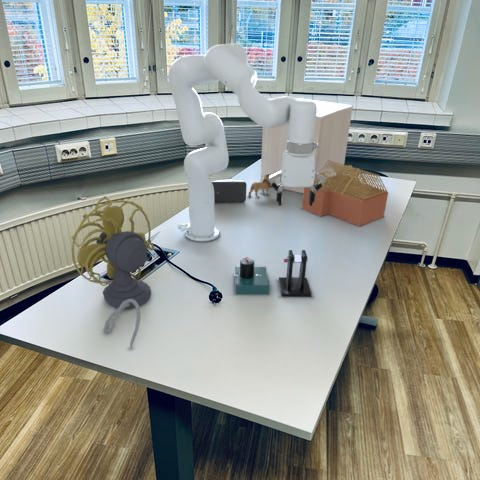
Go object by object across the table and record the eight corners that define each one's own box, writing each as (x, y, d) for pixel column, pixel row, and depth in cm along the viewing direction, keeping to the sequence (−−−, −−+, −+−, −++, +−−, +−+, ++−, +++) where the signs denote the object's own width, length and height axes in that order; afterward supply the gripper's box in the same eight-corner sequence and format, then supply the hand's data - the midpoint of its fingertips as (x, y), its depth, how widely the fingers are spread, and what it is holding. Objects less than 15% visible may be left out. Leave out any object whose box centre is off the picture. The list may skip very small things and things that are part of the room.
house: (301, 208, 202) (305, 163, 191) (336, 197, 215) (342, 154, 204) (351, 228, 185) (359, 181, 174) (386, 215, 197) (396, 170, 186)
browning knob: (254, 278, 143) (254, 263, 140) (240, 278, 143) (240, 263, 140) (253, 272, 147) (253, 257, 144) (239, 272, 147) (239, 257, 144)
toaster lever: (283, 264, 150) (283, 256, 150) (300, 264, 150) (300, 257, 150) (288, 262, 138) (288, 254, 138) (307, 262, 138) (307, 254, 138)
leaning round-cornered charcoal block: (245, 199, 210) (245, 178, 205) (246, 203, 206) (246, 182, 201) (209, 200, 209) (209, 179, 203) (209, 203, 205) (209, 182, 200)
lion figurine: (265, 190, 221) (266, 171, 215) (274, 193, 218) (275, 174, 213) (244, 198, 212) (245, 178, 207) (253, 201, 209) (254, 181, 204)
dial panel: (233, 294, 142) (233, 284, 140) (232, 275, 152) (232, 266, 150) (268, 294, 142) (268, 284, 140) (265, 275, 152) (266, 266, 150)
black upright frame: (278, 280, 149) (281, 245, 142) (306, 280, 150) (310, 246, 143) (281, 296, 141) (284, 260, 134) (310, 296, 141) (315, 260, 134)
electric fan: (149, 274, 151) (139, 184, 134) (207, 317, 131) (205, 217, 114) (72, 301, 137) (50, 203, 120) (125, 354, 117) (108, 245, 100)
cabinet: (293, 166, 253) (299, 98, 234) (342, 177, 240) (353, 105, 221) (259, 183, 229) (263, 108, 210) (312, 195, 216) (321, 116, 197)
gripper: (327, 144, 138) (320, 200, 148) (269, 143, 137) (266, 199, 147) (331, 151, 132) (324, 208, 141) (271, 150, 131) (268, 208, 141)
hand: (294, 204), depth 144 cm, fingers open, 9 cm apart
